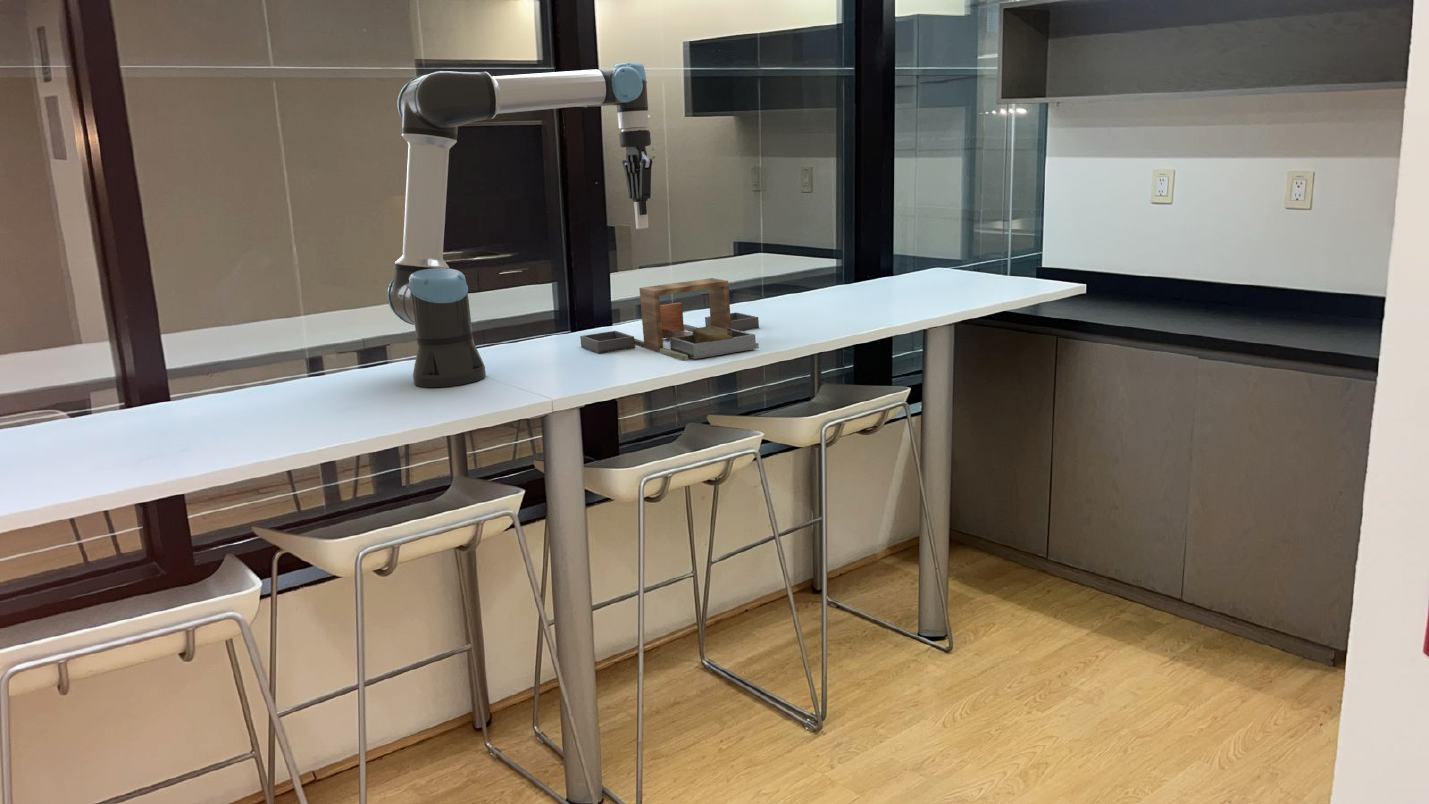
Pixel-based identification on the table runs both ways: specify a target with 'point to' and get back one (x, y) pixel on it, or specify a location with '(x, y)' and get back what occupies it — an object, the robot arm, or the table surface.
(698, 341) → the stone block
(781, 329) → the table surface
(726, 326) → the tunnel
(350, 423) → the table surface
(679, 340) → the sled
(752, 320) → the pit tray far
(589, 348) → the tray
